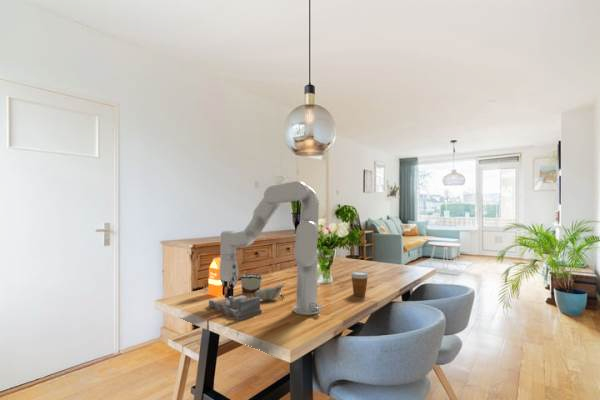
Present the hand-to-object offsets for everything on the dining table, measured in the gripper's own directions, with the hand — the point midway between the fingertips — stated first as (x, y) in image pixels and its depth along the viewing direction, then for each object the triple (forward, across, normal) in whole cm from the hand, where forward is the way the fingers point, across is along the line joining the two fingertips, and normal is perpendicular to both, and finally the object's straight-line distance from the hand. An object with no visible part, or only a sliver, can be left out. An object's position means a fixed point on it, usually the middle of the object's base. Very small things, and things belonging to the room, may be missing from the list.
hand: (227, 294), depth 146 cm
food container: (+6, +11, -23) cm, 26 cm away
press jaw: (+4, -3, 0) cm, 5 cm away
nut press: (+6, -6, 0) cm, 8 cm away
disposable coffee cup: (+6, -34, -62) cm, 71 cm away
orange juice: (+6, +22, -9) cm, 24 cm away
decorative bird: (+6, -6, -21) cm, 22 cm away
